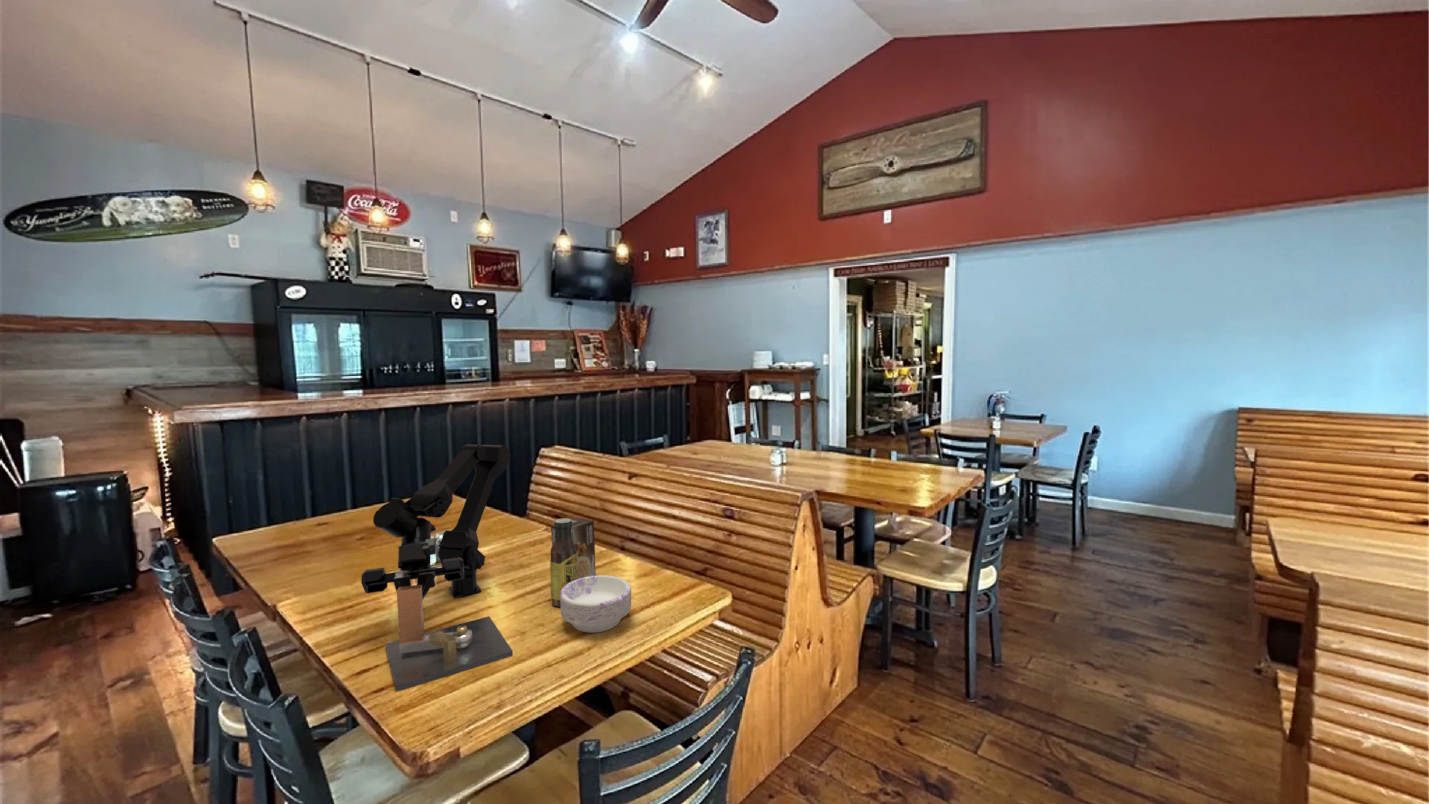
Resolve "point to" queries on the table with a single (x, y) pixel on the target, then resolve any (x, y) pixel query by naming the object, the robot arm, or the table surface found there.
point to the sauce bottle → (562, 559)
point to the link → (418, 622)
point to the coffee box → (582, 545)
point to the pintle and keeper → (448, 643)
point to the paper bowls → (595, 602)
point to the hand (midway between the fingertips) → (413, 614)
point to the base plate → (431, 662)
